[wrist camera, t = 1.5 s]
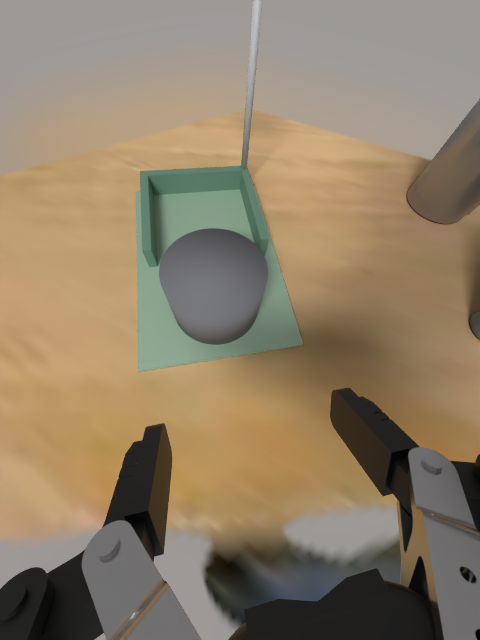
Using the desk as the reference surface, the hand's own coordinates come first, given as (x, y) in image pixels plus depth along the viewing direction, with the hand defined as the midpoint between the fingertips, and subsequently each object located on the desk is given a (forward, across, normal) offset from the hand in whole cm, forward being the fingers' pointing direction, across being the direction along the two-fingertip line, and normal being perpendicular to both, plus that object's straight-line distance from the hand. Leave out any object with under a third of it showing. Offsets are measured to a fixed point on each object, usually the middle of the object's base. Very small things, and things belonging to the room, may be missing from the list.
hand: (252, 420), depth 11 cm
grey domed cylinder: (+19, 0, 0) cm, 19 cm away
